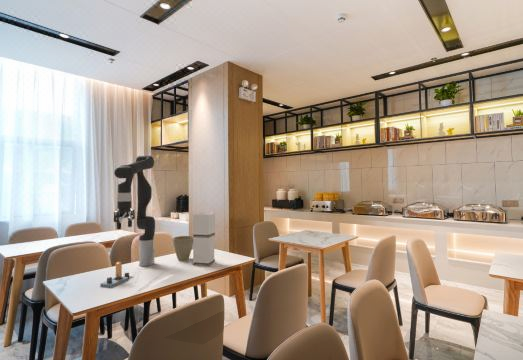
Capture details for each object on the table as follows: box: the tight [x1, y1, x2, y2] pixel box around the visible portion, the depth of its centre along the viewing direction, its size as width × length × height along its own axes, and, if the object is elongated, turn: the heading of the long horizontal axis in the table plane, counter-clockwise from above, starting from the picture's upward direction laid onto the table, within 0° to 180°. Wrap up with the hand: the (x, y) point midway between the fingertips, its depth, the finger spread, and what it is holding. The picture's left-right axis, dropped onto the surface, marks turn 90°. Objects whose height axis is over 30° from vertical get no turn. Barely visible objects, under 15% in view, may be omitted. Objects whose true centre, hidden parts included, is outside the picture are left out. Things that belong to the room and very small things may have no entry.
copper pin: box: [115, 261, 123, 280], centre depth 162 cm, size 3×3×12 cm
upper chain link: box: [100, 276, 128, 288], centre depth 159 cm, size 12×7×6 cm, turn 164°
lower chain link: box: [121, 272, 134, 284], centre depth 164 cm, size 12×7×4 cm, turn 164°
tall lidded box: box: [192, 212, 216, 267], centre depth 201 cm, size 11×11×35 cm
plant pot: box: [172, 235, 193, 262], centre depth 212 cm, size 15×15×16 cm
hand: (124, 228), depth 169 cm, fingers open, 8 cm apart
